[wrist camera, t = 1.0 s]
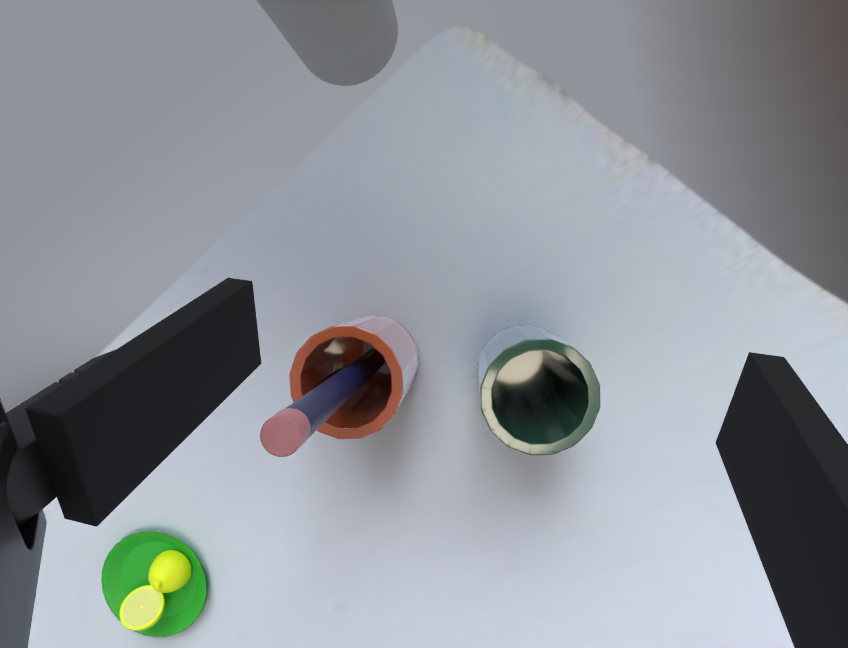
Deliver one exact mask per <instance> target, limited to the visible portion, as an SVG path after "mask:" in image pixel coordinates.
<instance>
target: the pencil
mask: <svg viewBox="0 0 848 648" xmlns="http://www.w3.org/2000/svg"><path fill="white" fill-rule="evenodd" d="M383 363H384V358H383V355H382V354H380V353H379V352H378V351H377V350H370V351H368V352H367V353H365V354H364V355H362V356H361V357H359V358H358V359H356V360H355V361H354V362H352V363H351V364H349V365H348V366H346V367H345V368H343V369H342V370H340V371H339V372H337V373H336V374H335V375H333V376H332V377H330V378H329V379H327V380H326V381H324V382H323V383H321V384H320V385H319V386H317V387H316V388H314V389H313V390H311V391H310V392H308V393H307V394H305V395H304V396H303V397H301V398H300V399H298V400H297V401H295V402H294V403H292V404H291V405H289V406H288V407H287V408H285V409H283V410H281V411H280V412H278V413H277V414H275V415H274V416H272V417H271V418H269V419H268V420H267V421H266V422H265V423H264V424H263V426H262V428H261V433H260V438H261V442H262V445H263V447H264V448H265V449H266V450H267V451H268V452H269V453H270V454H272V455H274V456H278V457H285V456H289V455H291V454H293V453H294V452H295V451H296V450H297V449H298V448H299V447H300V446H301V445H302V444H303V443H305V442H306V440H307V439H308V438H309V437H310V436H311V435H312V434H313V433H314V432H315V431H316V430H317V429H318V428H319V427H320V426H321V425H322V424H323V423H324V422H325V421H326V420H327V419H328V418H329V417H330V416H331V415H333V414H334V413H335V412H336V411H337V410H338V409H339V408H340V407H341V406H342V405H343V404H344V403H345V402H346V401H347V400H348V399H349V398H350V397H351V396H352V395H353V394H354V393H355V392H356V391H357V390H358V389H359V388H360V387H361V386H362V385H363V384H364V383H365V382H366V381H367V380H369V379H370V378H371V377H372V376H373V375H374V374H375V373H376V372H377V371H378V370H379V369H380V368H381V367H382V365H383Z"/></svg>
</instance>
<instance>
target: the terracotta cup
mask: <svg viewBox="0 0 848 648" xmlns="http://www.w3.org/2000/svg"><path fill="white" fill-rule="evenodd" d="M370 350H377V351H378V352H379V353H380V354H382V355H383V358H384V363H383V365H382V367H381V368H380V369H379V370H378V371H377V372H376V373H375V374H374V375H373V376H372V377H371V378H370V379H369V380H367V381H366V382H365V383H364V384H363V385H362V386H361V387H360V388H359V389H358V390H357V391H356V392H355V393H354V394H353V395H352V396H351V397H350V398H349V399H348V400H347V401H346V402H345V403H344V404H343V405H342V406H341V407H340V408H339V409H338V410H337V411H336V412H335V413H334V414H333V415H331V416H330V417H329V418H328V419H327V420H326V421H325V422H324V423H323V424H322V425H321V426H320V427H319V428H318V429H317V431H318V432H321V433H323V434H326V435H329V436H331V437H334V438H336V439H360V438H363V437H365V436H367V435H370V434H372V433H374V432H377V431H379V430H380V429H382V427H383V426H384V425H385V424H386V423H387V422H388V421H389V420H390V419H391V418H392V417H393V416H394V415H395V413H396V411H397V410H398V408H399V406H400V404H401V402H402V401H403V399H404V397H405V395H406V393H407V392H408V390H409V388H410V386H411V384H412V382H413V380H414V377H415V375H416V372H417V369H418V351H417V347H416V344H415V341H414V339H413V338H412V336H411V334H410V333H409V332H408V331H407V330H406V328H405V327H403V326H402V325H401V324H400V323H398V322H396V321H395V320H393V319H390V318H387V317H384V316H363V317H360V318H357V319H354V320H350V321H347V322H344V323H341V324H338V325H335V326H332V327H329V328H327V329H325V330H323V331H321V332H318V333H316V334H314V335H313V336H311V337H310V338H309V339H308V340H307V341H306V342H305V344H304V345H303V346H302V347H301V348H300V349H299V350H298V352H297V353H296V356H295V359H294V362H293V365H292V368H291V370H290V389H291V397H292V399H293V401H294V402H295V401H297V400H298V399H300V398H301V397H303V396H304V395H305V394H307V393H308V392H310V391H311V390H313V389H314V388H316V387H317V386H319V385H320V384H321V383H323V382H324V381H326V380H327V379H329V378H330V377H332V376H333V375H335V374H336V373H337V372H339V371H340V370H342V369H343V368H345V367H346V366H348V365H349V364H351V363H352V362H354V361H355V360H356V359H358V358H359V357H361V356H362V355H364V354H365V353H367V352H368V351H370Z"/></svg>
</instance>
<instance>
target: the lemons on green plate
mask: <svg viewBox="0 0 848 648" xmlns="http://www.w3.org/2000/svg"><path fill="white" fill-rule="evenodd" d="M206 588H207V587H206V579H205V575H204V572H203V569H202V566H201V564H200V562H199V561H198V559H197V557H196V556H195V555H194V553H193V552H192V551H191V550H190V549H189V548H188V547H187V546H186V545H185V544H184V543H182V542H181V541H179V540H177V539H176V538H174V537H172V536H169V535H167V534H164V533H159V532H152V531H151V532H140V533H136V534H132V535H130V536H128V537H126V538H124V539H122V540H121V541H120V542H119V543H117V544H116V545H115V546H114V547H113V549H112V550H111V551H110V552H109V554H108V556H107V558H106V560H105V563H104V566H103V570H102V589H103V593H104V596H105V600H106V602H107V604H108V606H109V608H110V609H111V611H112V612H113V614H114V615H115V616H116V617H117V619H118V620H120V621H121V623H122V624H123V625H124V626H125V627H126V628H128V629H130V630H133V631H135V632H138V633H141V634H143V635H147V636H153V637H165V636H169V635H174V634H176V633H179V632H181V631H183V630H185V629H186V628H187V627H189V626H190V625H191V624H192V623H193V622H194V621H195V620H196V618H197V617H198V616H199V614H200V612H201V610H202V608H203V606H204V602H205V599H206Z"/></svg>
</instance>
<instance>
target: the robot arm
mask: <svg viewBox="0 0 848 648" xmlns="http://www.w3.org/2000/svg"><path fill="white" fill-rule="evenodd" d="M260 364H261V357H260V348H259V339H258V329H257V320H256V311H255V302H254V293H253V284H252V281H247V280H240V279H233V278H227V279H225V280H224V281H222V282H221V283H219V284H218V285H216V286H215V287H213V288H211V289H210V290H208V291H207V292H205V293H204V294H202V295H201V296H199V297H197V298H196V299H194V300H193V301H191V302H190V303H188V304H187V305H185V306H183V307H182V308H180V309H179V310H177V311H176V312H174V313H173V314H171V315H169V316H168V317H166V318H165V319H163V320H162V321H160V322H159V323H157V324H155V325H154V326H152V327H151V328H149V329H148V330H146V331H145V332H143V333H141V334H140V335H138V336H137V337H135V338H134V339H132V340H131V341H129V342H127V343H126V344H124V345H123V346H121V347H120V348H118V349H116V350H114V351H111V352H108V353H106V354H103V355H101V356H98V357H95V358H93V359H91V360H90V361H88V362H86V363H85V364H83V365H82V366H80V367H79V368H77V369H75V371H74V373H69V374H67V375H66V376H64V377H63V378H61V379H60V380H59V382H58V383H57V382H55V383H53V384H52V385H50V386H48V387H47V388H45V389H44V390H42V391H40V392H39V393H38V394H36V395H34V396H32V397H31V398H29V399H28V400H26V401H25V402H23V403H21V404H20V405H18V406H17V407H15V408H14V409H12V410H10V411H9V412H7V413H6V412H5V410H4V407H3V404H2V402H1V399H0V648H28V641H29V635H30V628H31V621H32V615H33V608H34V602H35V595H36V589H37V582H38V575H39V569H40V562H41V556H42V549H43V543H44V536H45V529H46V518H45V514H44V512H43V508H44V507H45V506H47V505H48V504H49V503H50V502H51V501H52V500H54V499H55V498H56V497H57V498H58V501H59V504H60V507H61V509H62V512H63V515H64V518H65V519H69V520H73V521H77V522H80V523H84V524H88V525H92V526H96V527H97V526H98V525H99V524H100V523H101V522H102V521H103V520H104V519H105V518H106V517H107V516H108V515H109V514H110V513H111V512H112V511H113V510H114V509H115V508H116V507H117V506H118V505H119V504H120V503H121V502H122V501H123V500H124V499H125V498H126V497H127V496H128V495H129V494H130V493H131V492H132V491H133V490H134V489H135V488H136V487H137V486H138V485H139V484H140V483H141V482H142V481H143V480H144V479H145V478H146V477H147V476H148V475H149V474H150V473H151V472H152V471H153V470H154V469H155V468H156V467H157V466H158V465H159V464H160V463H161V462H162V461H163V460H164V459H165V458H166V457H167V456H168V455H169V454H170V453H171V452H172V451H174V450H175V449H176V448H177V447H178V446H179V445H180V444H181V443H182V442H183V441H184V440H185V439H186V438H187V437H188V436H189V435H190V434H191V433H192V432H193V431H194V430H195V429H196V428H197V427H198V426H199V425H200V424H201V423H202V422H203V421H204V420H205V419H206V418H207V417H208V416H209V415H210V414H211V413H212V412H213V411H214V410H215V409H216V408H217V407H218V406H219V405H220V404H221V403H222V402H223V401H224V400H225V399H226V398H227V397H228V396H229V395H230V394H231V393H232V392H233V391H234V390H235V389H236V388H237V387H238V386H239V385H240V384H241V383H242V382H243V381H244V380H245V379H246V378H247V377H248V376H249V375H250V374H251V373H252V372H253V371H254V370H255V369H256V368H257V367H258V366H259V365H260ZM716 445H717V448H718V450H719V453H720V455H721V458H722V461H723V463H724V466H725V468H726V471H727V474H728V476H729V479H730V481H731V484H732V487H733V489H734V492H735V494H736V497H737V500H738V502H739V505H740V507H741V510H742V512H743V515H744V518H745V520H746V523H747V525H748V528H749V531H750V533H751V536H752V538H753V541H754V544H755V546H756V549H757V551H758V554H759V557H760V559H761V562H762V564H763V567H764V569H765V572H766V575H767V577H768V580H769V582H770V585H771V588H772V590H773V593H774V595H775V598H776V601H777V603H778V606H779V608H780V611H781V614H782V616H783V619H784V621H785V624H786V627H787V629H788V632H789V634H790V637H791V639H792V642H793V645H794V647H795V648H848V444H847V443H846V441H845V440H844V439H843V437H842V436H841V435H840V433H839V432H838V430H837V429H836V428H835V426H834V425H833V424H832V422H831V421H830V419H829V418H828V417H827V415H826V414H825V413H824V411H823V410H822V408H821V407H820V406H819V404H818V403H817V402H816V400H815V399H814V397H813V396H812V395H811V393H810V392H809V391H808V389H807V388H806V386H805V385H804V384H803V382H802V381H801V380H800V378H799V377H798V375H797V374H796V373H795V371H794V370H793V369H792V367H791V366H790V364H789V363H788V362H787V360H786V359H785V358H784V357H779V356H772V355H765V354H758V353H751V352H749V354H748V357H747V360H746V362H745V365H744V368H743V370H742V373H741V376H740V378H739V381H738V384H737V386H736V389H735V392H734V395H733V397H732V400H731V403H730V405H729V408H728V411H727V413H726V416H725V419H724V422H723V424H722V427H721V430H720V432H719V435H718V438H717V440H716Z"/></svg>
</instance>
